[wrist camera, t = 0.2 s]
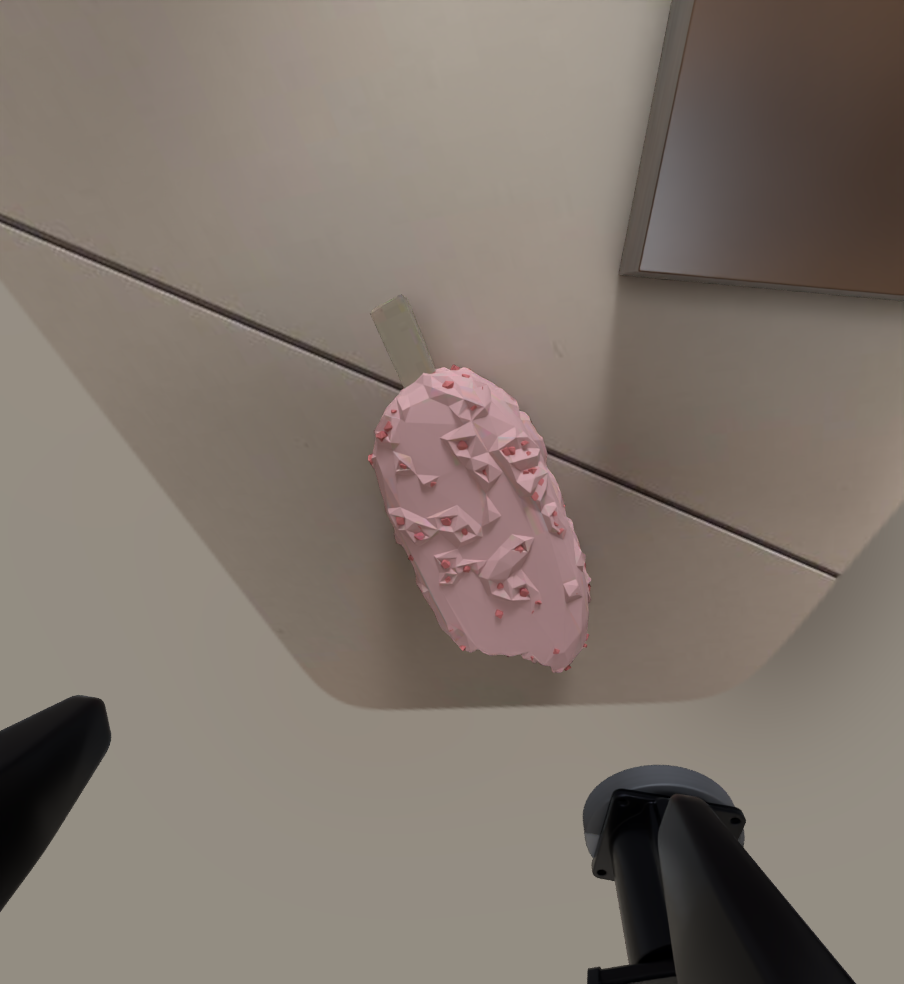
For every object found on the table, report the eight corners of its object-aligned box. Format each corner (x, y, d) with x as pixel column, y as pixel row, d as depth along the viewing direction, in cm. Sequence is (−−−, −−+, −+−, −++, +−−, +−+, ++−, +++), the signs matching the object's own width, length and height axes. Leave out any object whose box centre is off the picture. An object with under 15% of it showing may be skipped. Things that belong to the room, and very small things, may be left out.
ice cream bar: (473, 252, 14) (628, 671, 18) (479, 265, 18) (605, 606, 22) (280, 343, 15) (465, 714, 19) (326, 336, 19) (471, 645, 23)
